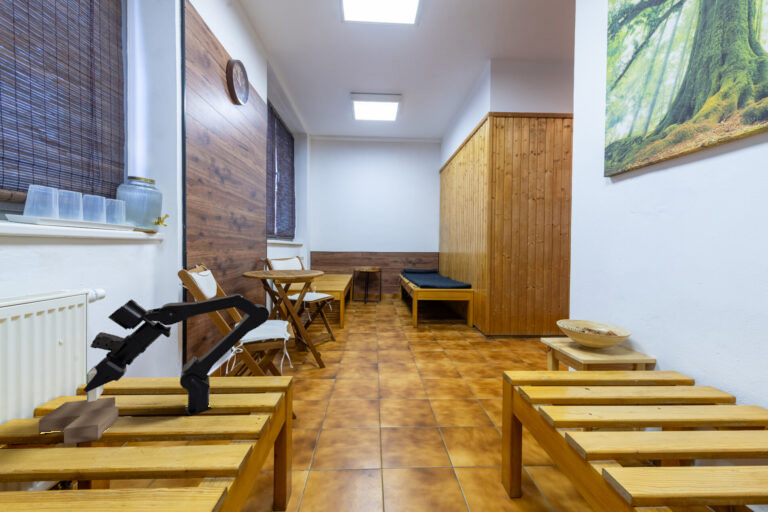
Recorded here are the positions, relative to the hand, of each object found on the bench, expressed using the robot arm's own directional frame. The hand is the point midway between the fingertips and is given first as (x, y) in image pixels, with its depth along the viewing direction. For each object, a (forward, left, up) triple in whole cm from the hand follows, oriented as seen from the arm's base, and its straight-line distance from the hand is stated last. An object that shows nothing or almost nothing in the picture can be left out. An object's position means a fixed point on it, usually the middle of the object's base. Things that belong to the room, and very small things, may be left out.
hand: (89, 385), depth 82 cm
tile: (0, -1, -3) cm, 3 cm away
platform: (+4, +1, -12) cm, 13 cm away
